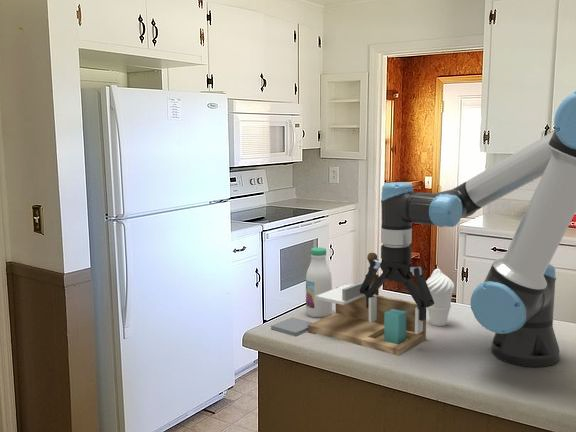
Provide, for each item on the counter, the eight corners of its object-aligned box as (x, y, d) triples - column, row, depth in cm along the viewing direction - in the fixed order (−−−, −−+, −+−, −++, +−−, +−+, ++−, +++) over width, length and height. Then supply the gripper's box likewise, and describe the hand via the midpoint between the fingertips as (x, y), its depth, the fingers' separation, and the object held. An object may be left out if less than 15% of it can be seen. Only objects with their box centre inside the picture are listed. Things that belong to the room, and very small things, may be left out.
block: (405, 341, 146) (406, 311, 145) (398, 346, 143) (398, 315, 142) (392, 338, 149) (392, 308, 148) (384, 342, 146) (384, 312, 145)
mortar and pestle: (357, 309, 175) (357, 251, 172) (376, 306, 177) (377, 249, 174) (367, 315, 169) (367, 256, 166) (386, 313, 170) (387, 254, 168)
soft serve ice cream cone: (459, 327, 157) (461, 270, 155) (434, 331, 154) (435, 274, 152) (441, 318, 165) (442, 264, 163) (416, 322, 162) (417, 267, 160)
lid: (374, 316, 159) (375, 278, 157) (343, 331, 148) (343, 290, 146) (348, 310, 165) (348, 273, 163) (315, 324, 154) (315, 284, 152)
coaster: (316, 327, 160) (316, 323, 159) (296, 336, 153) (295, 332, 153) (292, 320, 165) (292, 317, 165) (271, 329, 159) (271, 325, 158)
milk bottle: (332, 310, 174) (331, 245, 171) (331, 318, 167) (331, 251, 164) (307, 309, 175) (306, 245, 172) (305, 317, 167) (304, 251, 164)
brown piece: (425, 340, 148) (426, 305, 147) (398, 357, 138) (398, 319, 136) (338, 318, 166) (337, 287, 165) (308, 331, 156) (307, 298, 154)
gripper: (449, 248, 137) (447, 333, 140) (362, 236, 153) (362, 312, 156) (435, 253, 131) (432, 341, 135) (346, 241, 147) (346, 320, 151)
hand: (394, 326), depth 146 cm, fingers open, 13 cm apart
